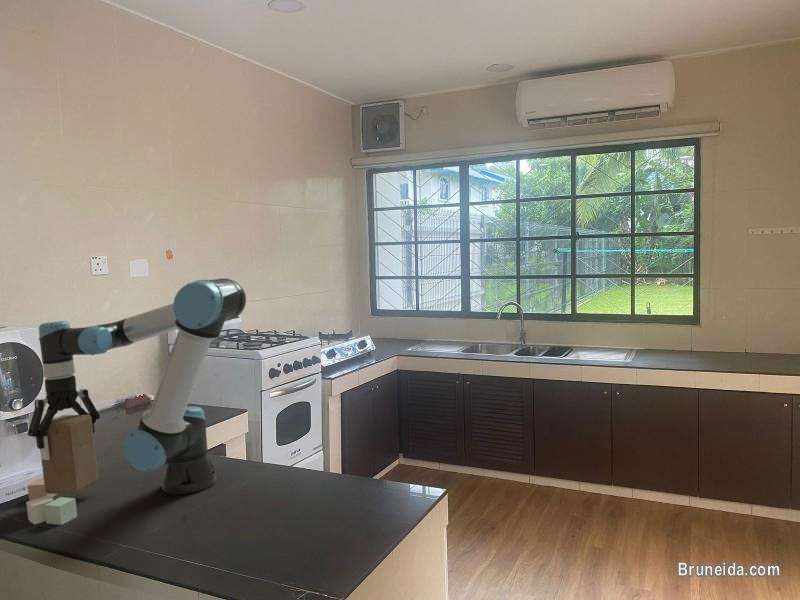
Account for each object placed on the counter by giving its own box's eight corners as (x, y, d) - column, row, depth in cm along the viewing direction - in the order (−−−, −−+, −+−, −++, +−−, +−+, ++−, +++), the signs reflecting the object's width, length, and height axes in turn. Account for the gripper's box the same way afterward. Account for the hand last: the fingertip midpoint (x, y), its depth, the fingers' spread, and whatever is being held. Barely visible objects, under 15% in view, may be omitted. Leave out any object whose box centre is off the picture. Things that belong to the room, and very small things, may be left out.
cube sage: (77, 516, 159) (75, 498, 159) (61, 525, 154) (59, 506, 154) (62, 515, 160) (60, 497, 160) (46, 523, 156) (44, 505, 155)
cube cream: (55, 517, 159) (53, 499, 159) (34, 525, 155) (32, 506, 155) (49, 513, 162) (47, 495, 162) (28, 520, 159) (26, 501, 158)
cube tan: (57, 494, 176) (55, 478, 176) (46, 501, 171) (44, 484, 171) (40, 495, 176) (38, 478, 176) (29, 502, 171) (27, 485, 171)
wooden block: (74, 495, 164) (66, 423, 163) (43, 494, 167) (35, 424, 165) (100, 481, 174) (92, 413, 173) (70, 481, 176) (62, 414, 175)
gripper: (93, 367, 180) (101, 438, 182) (6, 385, 160) (16, 464, 161) (107, 368, 176) (115, 440, 178) (21, 386, 156) (30, 468, 157)
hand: (68, 452), depth 170 cm, fingers closed on wooden block, 12 cm apart
